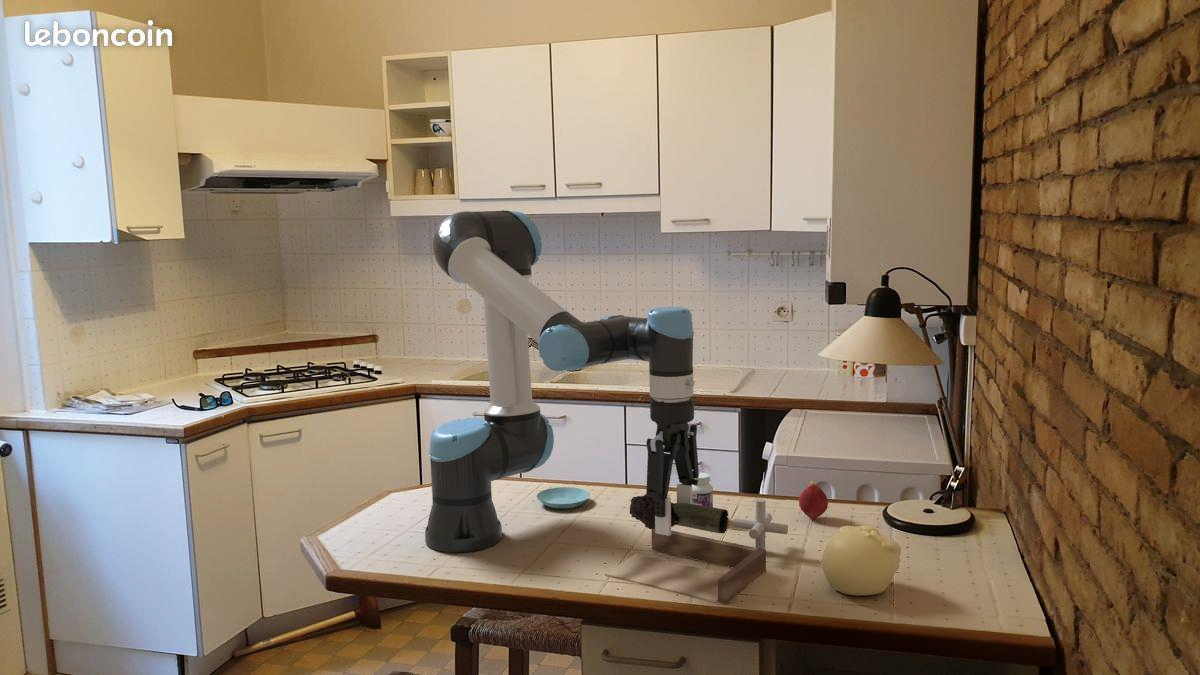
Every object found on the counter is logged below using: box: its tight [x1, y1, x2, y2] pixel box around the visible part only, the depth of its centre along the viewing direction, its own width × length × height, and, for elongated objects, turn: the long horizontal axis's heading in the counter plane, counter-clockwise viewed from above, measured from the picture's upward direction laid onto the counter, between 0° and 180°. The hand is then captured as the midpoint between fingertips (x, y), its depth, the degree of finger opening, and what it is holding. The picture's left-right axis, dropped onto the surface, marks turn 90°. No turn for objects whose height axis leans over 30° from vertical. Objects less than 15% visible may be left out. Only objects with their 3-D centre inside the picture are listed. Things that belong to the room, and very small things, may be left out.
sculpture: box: [821, 525, 902, 596], centre depth 151 cm, size 11×12×11 cm
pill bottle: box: [692, 472, 714, 508], centre depth 187 cm, size 5×5×10 cm
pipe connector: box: [732, 498, 789, 550], centre depth 168 cm, size 10×10×10 cm
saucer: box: [536, 486, 591, 510], centre depth 199 cm, size 12×12×2 cm
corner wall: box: [650, 529, 767, 605], centre depth 159 cm, size 23×16×4 cm
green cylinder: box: [629, 493, 730, 534], centre depth 156 cm, size 18×7×6 cm, turn 61°
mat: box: [603, 553, 726, 604], centre depth 158 cm, size 22×11×1 cm, turn 56°
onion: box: [798, 481, 829, 520], centre depth 185 cm, size 6×6×8 cm
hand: (674, 527), depth 156 cm, fingers closed on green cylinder, 7 cm apart
